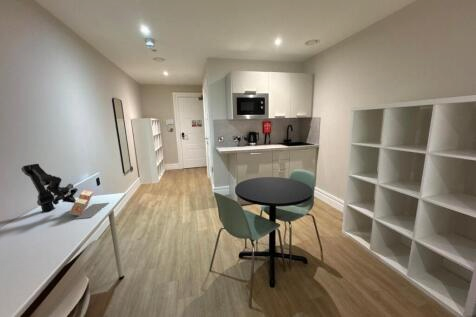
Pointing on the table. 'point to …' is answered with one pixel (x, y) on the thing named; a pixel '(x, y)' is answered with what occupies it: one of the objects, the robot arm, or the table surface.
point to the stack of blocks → (81, 202)
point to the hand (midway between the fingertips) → (76, 202)
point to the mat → (90, 211)
